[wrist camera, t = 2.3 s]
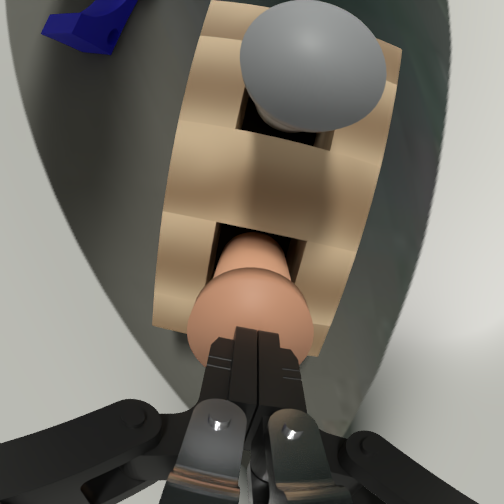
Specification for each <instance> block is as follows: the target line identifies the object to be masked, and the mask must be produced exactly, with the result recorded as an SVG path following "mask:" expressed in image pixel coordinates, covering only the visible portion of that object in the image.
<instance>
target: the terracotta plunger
mask: <svg viewBox="0 0 504 504" xmlns="http://www.w3.org/2000/svg"><path fill="white" fill-rule="evenodd" d="M236 326H239V327H245V328H250V329H255V330H257V331H258V330H261V331H267V332H273V333H278V334H279V340H280V348H285V349H291V351H292V352H293V353H294V355H295V356H296V357H297V359H298V363H299V365H300V364H301V363H302V361H303V360H304V359H305V358H306V356H307V355H308V353H309V351H310V349H311V346H312V343H313V337H314V327H313V322H312V318H311V315H310V312H309V308H308V305H307V302H306V300H305V298H304V296H303V294H302V292H301V291H300V290H299V288H298V287H297V286H296V285H295V284H294V283H293V282H292V281H291V278H290V274H289V270H288V266H287V262H286V258H285V254H284V252H283V250H282V248H281V246H280V245H279V244H278V243H277V242H276V240H274V239H273V238H272V237H270V236H268V235H266V234H263V233H259V232H246V233H242V234H240V235H237V236H236V237H234V238H232V239H231V240H230V241H229V242H228V243H227V244H226V245H225V247H224V249H223V251H222V253H221V256H220V259H219V262H218V265H217V268H216V271H215V274H214V277H213V279H212V280H211V281H209V282H208V283H207V284H206V285H205V286H204V287H203V289H202V290H201V291H200V293H199V295H198V296H197V298H196V301H195V304H194V306H193V309H192V311H191V314H190V317H189V320H188V324H187V337H188V342H189V345H190V348H191V350H192V352H193V353H194V355H195V357H196V358H197V359H198V360H199V362H200V363H201V364H202V365H203V366H204V367H206V365H207V360H208V356H209V351H210V347H211V344H212V343H213V342H214V341H215V340H216V339H217V338H218V337H222V338H227V339H232V340H233V337H234V333H235V328H236Z"/></svg>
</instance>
